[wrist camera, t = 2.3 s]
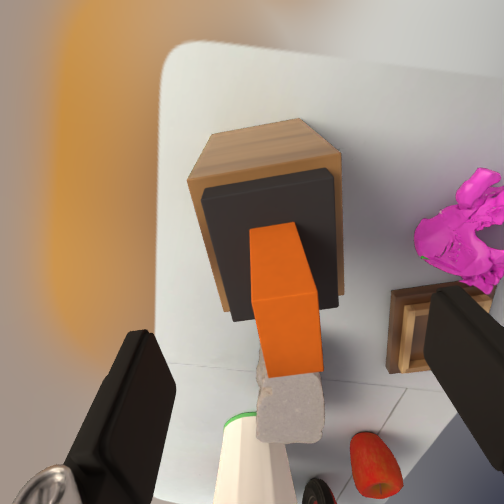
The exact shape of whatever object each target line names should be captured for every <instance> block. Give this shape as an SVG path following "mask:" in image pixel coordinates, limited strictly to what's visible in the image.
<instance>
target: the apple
mask: <svg viewBox="0 0 504 504" xmlns="http://www.w3.org/2000/svg"><path fill="white" fill-rule="evenodd" d="M350 458H351V467H352V474H353V479H354V482H355V485H356V488H357V490H358V491H359V493H360V494H361V495H362V496H365V497H368V498H375V499H384V498H387V497H390V496H392V495H394V494H396V493H398V492H399V491H400V490H401V488H402V487H403V478H402V474H401V471H400V467H399V465H398V463H397V461H396V459H395V457H394V455H393V454H392V452H391V451H390V449H389V448H388V447H387V445H386V444H385V443H384V442H383V441H382V439H381V438H380V437H379V436H378V435H376V434H373V433H369V432H362V433H358V434H356V435H355V436H354V437H353V438H352V440H351V442H350Z"/></svg>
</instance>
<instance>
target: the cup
mask: <svg viewBox="0 0 504 504" xmlns="http://www.w3.org/2000/svg"><path fill="white" fill-rule="evenodd" d="M256 415H257V412H250V413H242V414H239V415H237V416H235V417H233V418H231V419H230V420H229V421H228V422H227V423H226V424H225V427H224V433H223V444H222V451H221V457H220V463H219V469H218V475H217V482H216V488H215V494H214V500H213V504H297V499H296V495H295V490H294V485H293V481H292V476H291V471H290V467H289V462H288V457H287V453H286V448H285V444H284V443H275V442H271V443H265V442H261V441H259V440H258V439H257V438H256V427H257V425H256Z"/></svg>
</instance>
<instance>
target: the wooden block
mask: <svg viewBox="0 0 504 504" xmlns="http://www.w3.org/2000/svg"><path fill="white" fill-rule="evenodd" d="M324 167H325V168H327V169H328V171H329V172H330V173H331V174H332V175H333V177H334V187H335V216H336V244H337V272H338V296H340V295H344V251H343V207H342V163H341V152H339V151H338V150H337V149H336V148H335V147H333V146H332V145H331V144H330V143H329V142H327V141H326V140H325V139H324V138H323V137H321V136H320V135H319V134H318V133H317V132H315V131H314V130H313V129H312V128H311V127H309V126H308V125H307V124H306V123H305V122H303V121H302V120H301V119H300V118H297V119H291V120H286V121H281V122H275V123H270V124H264V125H259V126H253V127H248V128H243V129H237V130H232V131H226V132H221V133H215V134H212V135H211V136H210V138H209V140H208V142H207V144H206V146H205V148H204V149H203V151H202V153H201V155H200V157H199V159H198V160H197V162H196V164H195V166H194V168H193V170H192V171H191V173H190V175H189V177H188V179H187V183H188V187H189V190H190V194H191V197H192V201H193V204H194V208H195V211H196V215H197V219H198V222H199V226H200V229H201V233H202V236H203V240H204V243H205V247H206V250H207V254H208V258H209V261H210V265H211V268H212V272H213V275H214V279H215V282H216V286H217V289H218V293H219V296H220V300H221V304H222V307H223V311H224V312H229V311H230V308H229V305H228V301H227V297H226V293H225V290H224V286H223V282H222V279H221V275H220V271H219V267H218V264H217V260H216V256H215V252H214V249H213V245H212V241H211V238H210V234H209V230H208V226H207V223H206V219H205V215H204V211H203V208H202V204H201V197H202V194H203V191H204V189H205V188H209V187H214V186H220V185H226V184H232V183H238V182H243V181H249V180H255V179H261V178H266V177H272V176H278V175H284V174H290V173H295V172H301V171H307V170H313V169H319V168H324Z"/></svg>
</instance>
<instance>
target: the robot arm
mask: <svg viewBox="0 0 504 504" xmlns="http://www.w3.org/2000/svg"><path fill="white" fill-rule="evenodd" d="M423 354H424V358H425V361H426V363H427V364H428V366H429V367H430V369H431V371H432V372H433V374H434V375H435V377H436V378H437V380H438V382H439V383H440V385H441V386H442V388H443V389H444V391H445V393H446V394H447V396H448V397H449V399H450V400H451V402H452V404H453V405H454V407H455V408H456V410H457V412H458V413H459V415H460V416H461V418H462V419H463V421H464V423H465V424H466V426H467V427H468V429H469V430H470V432H471V434H472V435H473V437H474V438H475V440H476V441H477V443H478V444H479V446H480V448H481V449H482V451H483V452H484V454H485V456H486V457H487V459H488V460H489V462H490V463H491V465H492V466H493V467H494V468H495V469H496V470H497V471H502V473H503V474H504V327H503V326H501V325H500V324H499V323H498V322H497V321H496V320H495V319H494V318H493V317H492V316H491V315H490V314H489V313H487V312H486V311H485V310H484V309H483V308H482V307H481V306H480V305H479V304H478V303H477V302H476V301H475V300H474V299H473V298H472V297H471V296H470V295H469V294H468V293H467V292H466V291H465V290H464V289H463V288H462V287H460V286H458V285H455V286H448V287H441V288H438V289H437V290H436V293H433V294H432V295H431V301H430V307H429V314H428V321H427V328H426V335H425V342H424V349H423ZM175 396H176V384H175V381H174V379H173V377H172V374H171V372H170V370H169V367H168V365H167V363H166V361H165V358H164V356H163V354H162V352H161V349H160V347H159V345H158V342H157V340H156V338H155V336H154V334H153V333H149V332H148V330H146V329H144V330H137V331H130V332H129V333H128V334H127V335H126V338H125V339H124V342H123V344H122V346H121V348H120V350H119V352H118V354H117V357H116V359H115V361H114V363H113V365H112V367H111V369H110V371H109V374H108V375H107V376H106V377H105V379H104V380H103V382H102V384H101V386H100V388H99V390H98V393H97V395H96V397H95V399H94V401H93V403H92V405H91V407H90V409H89V412H88V413H87V416H86V418H85V420H84V422H83V424H82V426H81V428H80V430H79V432H78V434H77V437H76V439H75V441H74V443H73V445H72V447H71V449H70V451H69V453H68V455H67V458H66V460H65V462H64V464H62V465H53V466H50V467H47V468H45V469H44V470H42V471H40V472H39V473H37V474H36V475H35V476H34V477H32V478H31V479H30V480H29V481H28V482H27V483H26V484H25V485H24V487H23V488H22V489H21V490H20V491H19V493H18V495H17V496H16V498H15V499H14V501H13V503H12V504H150V503H151V501H152V497H153V493H154V489H155V484H156V480H157V475H158V471H159V467H160V462H161V458H162V453H163V449H164V444H165V440H166V436H167V431H168V427H169V422H170V418H171V413H172V409H173V404H174V400H175Z"/></svg>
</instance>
